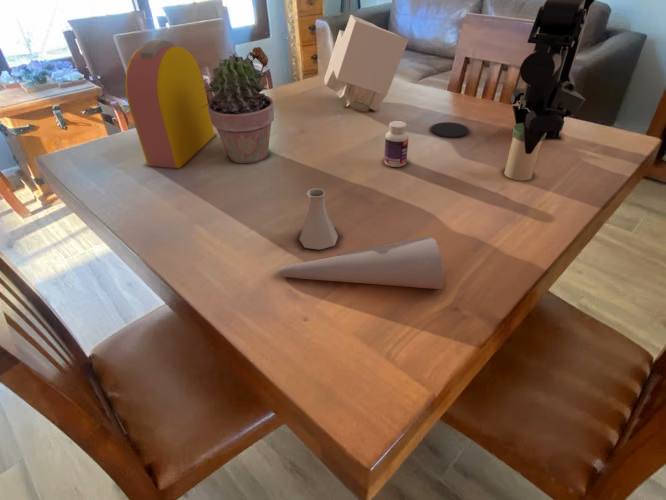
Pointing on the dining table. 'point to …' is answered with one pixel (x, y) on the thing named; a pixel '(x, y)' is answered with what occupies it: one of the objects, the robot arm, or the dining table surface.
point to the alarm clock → (167, 103)
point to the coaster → (450, 130)
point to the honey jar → (521, 161)
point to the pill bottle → (396, 144)
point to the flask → (317, 223)
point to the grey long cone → (379, 266)
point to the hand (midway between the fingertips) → (524, 147)
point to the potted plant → (241, 107)
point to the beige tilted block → (364, 62)
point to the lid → (521, 132)
